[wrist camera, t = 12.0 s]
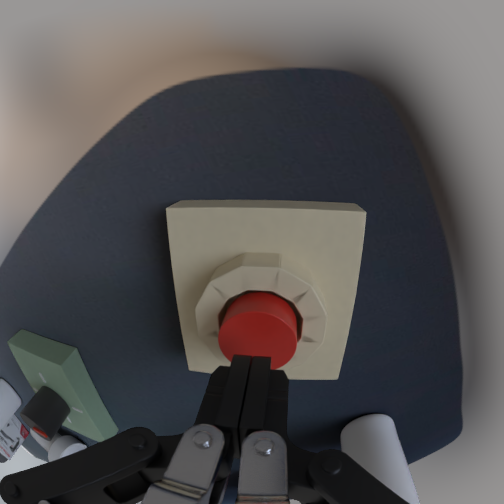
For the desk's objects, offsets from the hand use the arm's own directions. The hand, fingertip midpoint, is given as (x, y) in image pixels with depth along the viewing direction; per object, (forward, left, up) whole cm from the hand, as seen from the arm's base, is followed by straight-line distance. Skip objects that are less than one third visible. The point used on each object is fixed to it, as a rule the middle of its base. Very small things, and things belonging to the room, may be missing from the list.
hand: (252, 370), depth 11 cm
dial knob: (+15, -23, -4) cm, 28 cm away
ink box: (+44, -60, -7) cm, 75 cm away
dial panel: (+15, -23, -7) cm, 28 cm away
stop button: (0, 0, -3) cm, 3 cm away
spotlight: (+33, -34, -7) cm, 48 cm away
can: (+27, -47, -7) cm, 55 cm away
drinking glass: (+15, +10, -7) cm, 19 cm away
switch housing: (0, 0, -7) cm, 7 cm away
